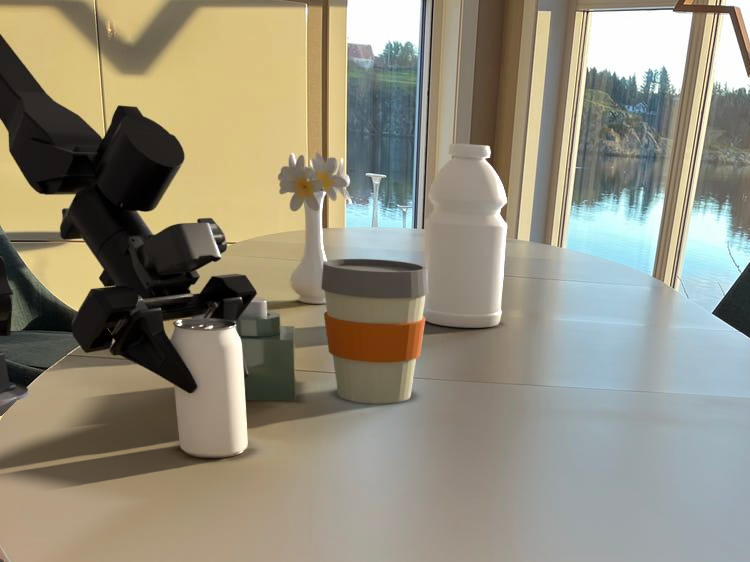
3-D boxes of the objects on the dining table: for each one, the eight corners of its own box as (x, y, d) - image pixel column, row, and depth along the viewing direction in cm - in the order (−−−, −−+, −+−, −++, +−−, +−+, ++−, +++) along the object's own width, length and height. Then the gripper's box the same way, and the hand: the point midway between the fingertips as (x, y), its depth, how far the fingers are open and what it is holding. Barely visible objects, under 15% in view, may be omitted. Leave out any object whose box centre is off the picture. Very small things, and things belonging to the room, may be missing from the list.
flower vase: (278, 308, 169) (272, 151, 157) (285, 293, 185) (279, 150, 173) (352, 311, 170) (351, 156, 159) (352, 296, 186) (351, 154, 175)
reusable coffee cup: (302, 390, 116) (298, 260, 109) (378, 378, 124) (379, 256, 117) (369, 412, 109) (370, 274, 102) (445, 398, 117) (451, 269, 110)
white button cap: (231, 320, 108) (230, 301, 108) (233, 314, 112) (232, 296, 111) (266, 321, 109) (266, 302, 108) (268, 315, 113) (267, 297, 112)
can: (260, 446, 95) (254, 322, 89) (224, 463, 89) (215, 332, 84) (204, 436, 96) (195, 314, 91) (166, 453, 91) (153, 324, 85)
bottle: (430, 312, 174) (436, 142, 161) (504, 319, 173) (516, 147, 160) (415, 324, 162) (420, 141, 149) (494, 331, 161) (506, 146, 148)
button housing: (208, 399, 110) (202, 319, 106) (214, 381, 118) (209, 306, 113) (295, 401, 111) (292, 322, 107) (296, 383, 119) (293, 309, 115)
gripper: (74, 184, 76) (184, 344, 77) (236, 184, 91) (328, 319, 91) (26, 276, 84) (128, 422, 84) (184, 262, 98) (270, 387, 98)
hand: (220, 384), depth 89 cm, fingers closed on can, 6 cm apart
